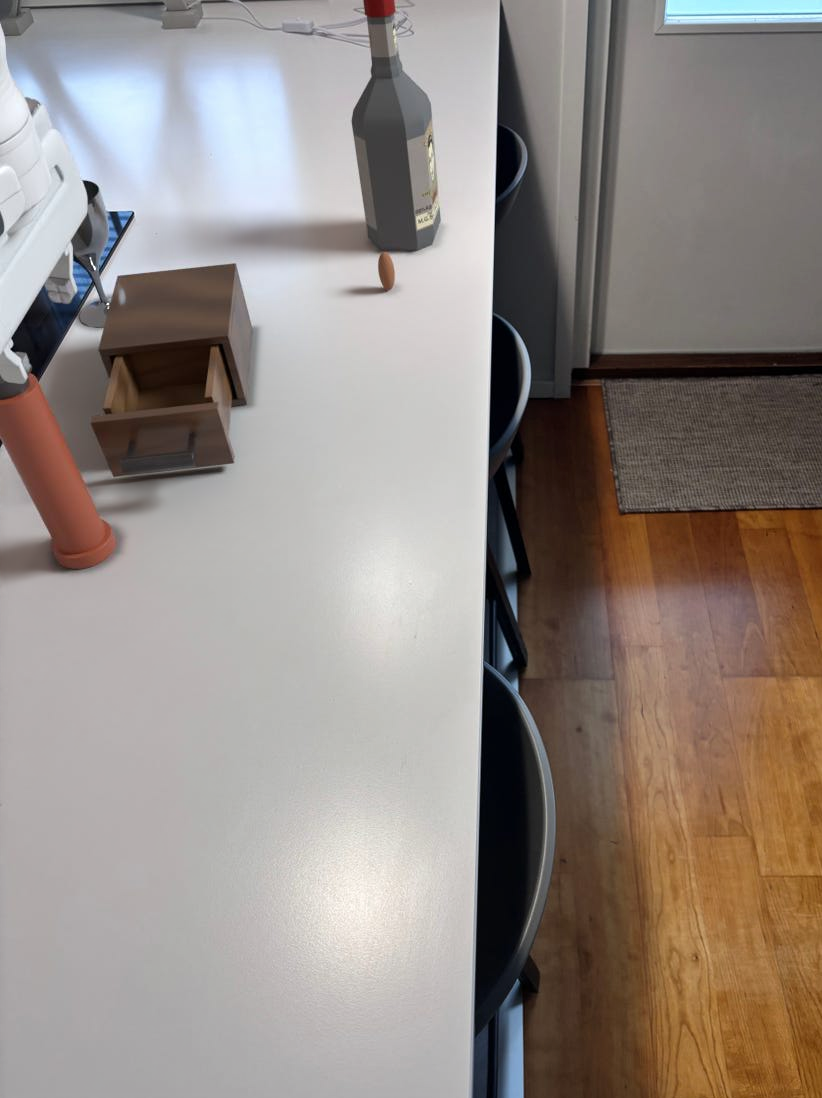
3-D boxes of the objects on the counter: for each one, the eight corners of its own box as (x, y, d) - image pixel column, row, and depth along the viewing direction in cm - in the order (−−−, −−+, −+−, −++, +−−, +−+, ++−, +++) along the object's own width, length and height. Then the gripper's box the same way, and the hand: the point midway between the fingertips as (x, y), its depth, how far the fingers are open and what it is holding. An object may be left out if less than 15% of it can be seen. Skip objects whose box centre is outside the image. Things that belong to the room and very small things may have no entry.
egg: (394, 294, 125) (389, 256, 121) (379, 293, 125) (374, 255, 121) (398, 286, 126) (393, 248, 122) (383, 285, 126) (378, 248, 123)
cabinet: (247, 404, 111) (228, 335, 104) (124, 418, 110) (97, 349, 103) (253, 330, 121) (235, 262, 114) (140, 342, 120) (117, 275, 114)
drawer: (232, 491, 99) (214, 435, 94) (107, 505, 99) (82, 450, 94) (241, 383, 112) (226, 329, 107) (130, 396, 111) (110, 342, 106)
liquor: (366, 251, 132) (328, -5, 110) (379, 219, 138) (346, -30, 116) (432, 252, 131) (408, -6, 109) (443, 220, 137) (422, -32, 115)
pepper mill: (51, 572, 94) (-44, 396, 79) (61, 531, 98) (-28, 356, 83) (112, 565, 94) (29, 388, 79) (119, 525, 98) (42, 348, 83)
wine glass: (152, 302, 127) (113, 185, 115) (112, 333, 122) (68, 215, 111) (103, 291, 129) (61, 175, 118) (63, 322, 125) (15, 204, 113)
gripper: (-9, 79, 70) (52, 251, 82) (-147, 249, 59) (-54, 421, 70) (77, 89, 70) (127, 259, 81) (-45, 261, 59) (32, 432, 70)
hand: (42, 336), depth 76 cm, fingers open, 8 cm apart
